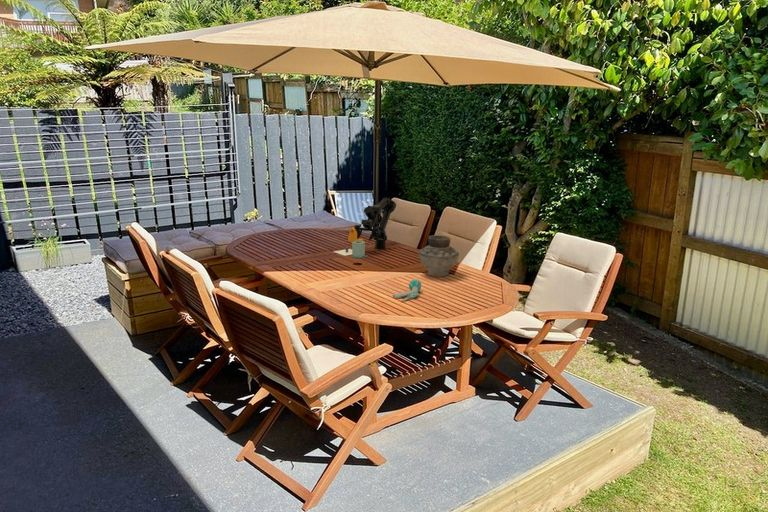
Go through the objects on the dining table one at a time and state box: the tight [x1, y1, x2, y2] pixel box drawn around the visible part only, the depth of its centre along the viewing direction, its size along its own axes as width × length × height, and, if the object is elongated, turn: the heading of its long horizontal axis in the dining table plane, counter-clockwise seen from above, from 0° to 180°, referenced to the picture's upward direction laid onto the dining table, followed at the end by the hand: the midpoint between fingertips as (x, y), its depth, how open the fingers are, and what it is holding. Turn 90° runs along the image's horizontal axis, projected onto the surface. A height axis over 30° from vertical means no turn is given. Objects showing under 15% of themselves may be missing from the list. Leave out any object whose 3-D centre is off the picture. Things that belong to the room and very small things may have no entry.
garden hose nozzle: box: [392, 278, 422, 302], centre depth 331 cm, size 7×18×20 cm
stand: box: [349, 254, 369, 260], centre depth 407 cm, size 10×10×5 cm
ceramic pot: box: [418, 234, 460, 278], centre depth 370 cm, size 25×25×24 cm
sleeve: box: [351, 240, 366, 259], centre depth 406 cm, size 6×6×10 cm
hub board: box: [332, 246, 352, 256], centre depth 418 cm, size 14×14×5 cm
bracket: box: [347, 227, 364, 243], centre depth 452 cm, size 11×7×12 cm, turn 38°
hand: (363, 239), depth 411 cm, fingers open, 9 cm apart
